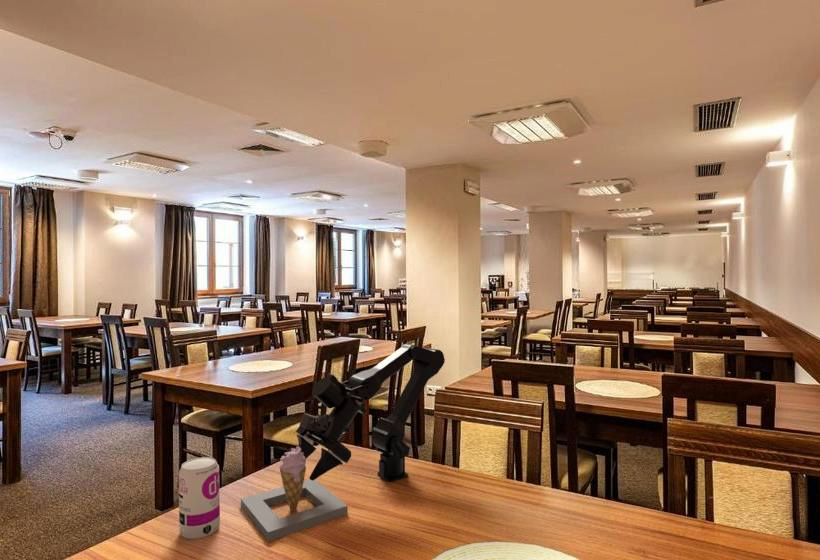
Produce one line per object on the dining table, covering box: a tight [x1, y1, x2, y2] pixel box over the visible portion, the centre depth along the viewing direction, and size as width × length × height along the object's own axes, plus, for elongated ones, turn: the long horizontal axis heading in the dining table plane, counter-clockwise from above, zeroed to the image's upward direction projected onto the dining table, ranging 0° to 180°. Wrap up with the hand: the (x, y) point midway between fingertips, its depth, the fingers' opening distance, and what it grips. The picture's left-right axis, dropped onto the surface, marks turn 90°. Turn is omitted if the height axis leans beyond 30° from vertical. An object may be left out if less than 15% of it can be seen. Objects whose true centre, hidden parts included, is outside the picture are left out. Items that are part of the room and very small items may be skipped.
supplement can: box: [178, 456, 221, 540], centre depth 106 cm, size 8×8×15 cm
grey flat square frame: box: [240, 478, 349, 542], centre depth 115 cm, size 19×19×2 cm
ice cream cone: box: [278, 445, 307, 512], centre depth 115 cm, size 7×6×15 cm
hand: (301, 473), depth 116 cm, fingers open, 9 cm apart
